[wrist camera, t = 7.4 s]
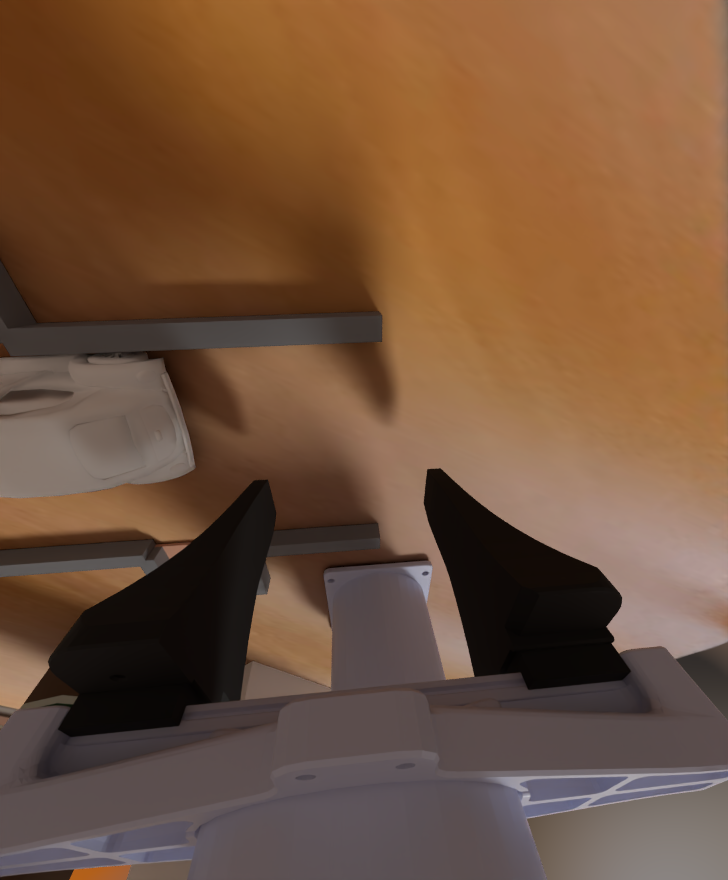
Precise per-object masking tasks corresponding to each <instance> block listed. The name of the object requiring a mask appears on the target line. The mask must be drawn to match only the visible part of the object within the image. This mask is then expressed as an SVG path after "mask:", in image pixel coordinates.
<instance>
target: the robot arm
mask: <svg viewBox="0 0 728 880" xmlns="http://www.w3.org/2000/svg"><path fill="white" fill-rule="evenodd" d="M424 506H425V510H426V514H427V518H428V522H429V525H430V527H431V530H432V533H433V535H434V538H435V540H436V543H437V545H438V548H439V550H440V553H441V555H442V558H443V560H444V563H445V565H446V568H447V571H448V574H449V577H450V581H451V584H452V588H453V591H454V595H455V598H456V602H457V606H458V609H459V613H460V617H461V621H462V625H463V629H464V633H465V637H466V641H467V645H468V649H469V654H470V658H471V663H472V667H473V671H474V676H475V677H470V678H459V679H449V680H446V678H445V674H444V671H443V667H442V663H441V659H440V655H439V651H438V647H437V643H436V639H435V635H434V631H433V628H432V624H431V620H430V616H429V612H428V608H427V599H428V593H429V587H430V581H431V575H432V569H433V568H432V564H431V562H429V561H415V562H402V563H389V564H376V565H364V566H351V567H338V568H328V569H326V570H325V571H324V582H325V589H326V595H327V602H328V608H329V614H330V621H331V627H332V671H331V691H329V692H319V693H309V694H299V695H289V696H279V697H269V698H259V699H249V700H241V692H242V684H243V676H244V668H245V661H246V654H247V647H248V640H249V634H250V628H251V622H252V616H253V611H254V605H255V600H256V594H257V590H258V586H259V582H260V578H261V575H262V571H263V568H264V564H265V561H266V558H267V554H268V551H269V547H270V544H271V540H272V536H273V532H274V526H275V519H276V510H275V506H274V502H273V498H272V494H271V490H270V486H269V482H268V480H255V481H253V482H252V483H251V484H250V485H249V486H248V487H247V489H246V490H245V491H244V492H243V493H242V494H241V495H240V496H239V497H238V498H237V499H236V501H235V502H234V503H233V504H232V505H231V506H230V507H229V508H228V509H227V510H226V511H225V512H224V513H223V514H222V515H221V516H220V517H219V518H218V519H217V520H216V521H215V522H214V523H213V524H212V525H211V526H210V527H209V528H208V529H206V530H205V531H204V532H203V533H202V534H201V535H200V536H198V537H197V538H196V539H195V540H194V541H192V542H191V543H190V544H189V545H188V546H186V547H185V548H184V549H183V550H181V551H180V552H179V553H177V554H176V555H174V556H173V557H172V558H170V559H169V560H167V561H166V562H165V563H163V564H162V565H161V566H159V567H158V568H156V569H155V570H153V571H152V572H150V573H149V574H147V575H146V576H144V577H143V578H141V579H139V580H138V581H136V582H135V583H133V584H131V585H130V586H128V587H126V588H125V589H123V590H121V591H120V592H118V593H116V594H114V595H112V596H111V597H109V598H107V599H105V600H104V601H102V602H100V603H98V604H96V605H95V606H93V607H91V608H89V609H87V610H85V611H84V612H83V613H82V615H81V616H80V617H79V619H78V620H77V621H76V623H75V624H74V625H73V627H72V628H71V629H70V631H69V632H68V633H67V635H66V636H65V637H64V639H63V640H62V641H61V643H60V644H59V645H58V647H57V648H56V649H55V651H54V652H53V653H52V655H51V656H50V658H49V661H48V663H49V667H50V670H51V672H52V673H53V674H54V675H55V676H56V677H58V678H59V679H60V680H62V681H63V682H64V683H66V684H67V685H68V686H70V687H71V688H72V689H73V690H75V691H76V692H77V693H79V695H78V697H77V699H76V700H75V702H74V704H73V705H72V707H71V708H70V707H67V706H46V707H36V708H25V709H19V710H17V711H15V712H14V713H13V714H12V715H11V717H10V718H9V720H8V721H7V722H6V724H5V725H4V726H3V728H2V729H1V730H0V877H3V876H12V875H20V874H29V873H39V872H49V871H59V870H70V869H82V868H94V867H107V866H119V865H133V864H146V863H159V862H172V861H185V860H192V862H191V866H190V870H189V874H188V878H187V880H547V877H546V874H545V872H544V869H543V866H542V863H541V860H540V857H539V854H538V851H537V848H536V845H535V842H534V839H533V836H532V833H531V830H530V827H529V824H528V821H527V818H533V817H538V816H543V815H550V814H555V813H561V812H567V811H573V810H578V809H584V808H589V807H595V806H601V805H607V804H613V803H618V802H625V801H630V800H636V799H643V798H649V797H656V796H663V795H669V794H677V793H684V792H692V791H700V790H704V789H707V788H709V787H712V786H714V785H716V784H719V783H721V782H724V781H727V780H728V721H727V719H726V718H725V717H724V716H723V715H722V714H721V712H720V711H719V710H718V709H717V708H716V707H715V705H714V704H713V703H712V702H711V701H710V700H709V699H708V697H707V696H706V695H705V694H704V693H703V691H702V690H700V688H699V687H698V686H697V684H696V683H695V682H694V681H693V680H692V679H691V677H690V676H689V675H688V674H687V673H686V672H685V670H684V669H683V668H682V667H681V666H680V665H679V663H678V662H677V661H676V660H675V659H674V657H673V656H672V655H671V654H670V653H669V652H668V650H667V649H666V648H664V647H661V646H659V647H649V648H639V649H630V650H626V651H623V652H621V653H620V654H619V653H618V652H617V651H616V649H615V648H614V646H613V645H612V644H611V643H613V642H614V637H613V635H612V634H611V633H610V631H609V630H608V629H607V627H606V626H607V625H608V624H609V623H610V621H611V620H612V619H613V617H614V616H615V615H616V614H617V612H618V611H619V609H620V607H621V604H622V597H621V595H620V593H619V592H618V591H617V589H616V588H615V587H614V586H613V585H612V584H611V582H610V581H609V580H608V579H607V578H606V577H605V576H604V574H603V573H602V572H601V571H600V570H599V569H598V568H597V567H594V566H592V565H590V564H587V563H585V562H582V561H580V560H578V559H575V558H573V557H570V556H568V555H566V554H564V553H561V552H559V551H557V550H555V549H553V548H551V547H549V546H547V545H545V544H543V543H541V542H539V541H537V540H535V539H533V538H532V537H530V536H528V535H526V534H525V533H523V532H521V531H519V530H518V529H516V528H514V527H513V526H511V525H510V524H508V523H507V522H505V521H504V520H502V519H500V518H499V517H497V516H496V515H495V514H493V513H492V512H490V511H489V510H488V509H487V508H485V507H484V506H483V505H481V504H480V503H479V502H478V501H476V500H475V499H474V498H473V497H471V496H470V495H469V494H468V493H467V492H466V491H464V490H463V489H462V488H461V487H460V486H459V485H458V484H457V483H456V482H455V481H453V480H452V479H451V478H450V477H449V476H448V475H447V474H446V473H445V472H444V471H443V470H442V469H441V468H439V469H427V477H426V486H425V496H424Z"/></svg>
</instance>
